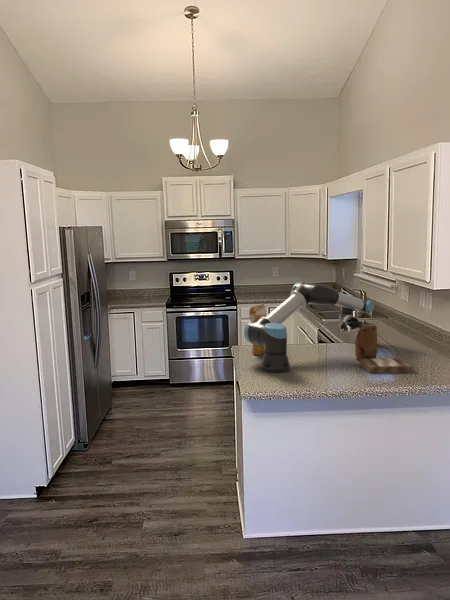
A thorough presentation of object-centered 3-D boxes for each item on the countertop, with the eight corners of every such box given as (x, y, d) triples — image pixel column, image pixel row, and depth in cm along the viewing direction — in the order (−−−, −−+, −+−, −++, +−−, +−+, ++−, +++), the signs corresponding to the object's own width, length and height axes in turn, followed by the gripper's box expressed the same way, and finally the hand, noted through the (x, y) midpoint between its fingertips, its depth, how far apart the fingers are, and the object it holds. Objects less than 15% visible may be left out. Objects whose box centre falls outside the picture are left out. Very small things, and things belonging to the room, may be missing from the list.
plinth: (368, 373, 239) (369, 366, 238) (359, 364, 254) (360, 358, 253) (412, 372, 239) (412, 365, 239) (400, 363, 254) (400, 357, 254)
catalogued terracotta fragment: (372, 357, 267) (373, 322, 264) (377, 361, 259) (379, 325, 256) (353, 358, 266) (354, 323, 263) (358, 362, 258) (359, 326, 255)
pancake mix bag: (245, 354, 277) (245, 307, 273) (264, 347, 292) (264, 303, 287) (255, 356, 273) (254, 308, 269) (273, 349, 287) (273, 304, 283)
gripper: (370, 327, 294) (383, 335, 273) (331, 328, 293) (340, 336, 272) (371, 315, 293) (383, 322, 272) (331, 316, 292) (340, 323, 271)
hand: (361, 329), depth 272 cm, fingers open, 13 cm apart
